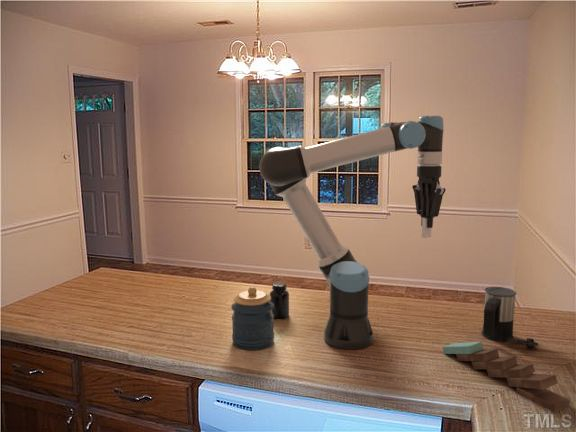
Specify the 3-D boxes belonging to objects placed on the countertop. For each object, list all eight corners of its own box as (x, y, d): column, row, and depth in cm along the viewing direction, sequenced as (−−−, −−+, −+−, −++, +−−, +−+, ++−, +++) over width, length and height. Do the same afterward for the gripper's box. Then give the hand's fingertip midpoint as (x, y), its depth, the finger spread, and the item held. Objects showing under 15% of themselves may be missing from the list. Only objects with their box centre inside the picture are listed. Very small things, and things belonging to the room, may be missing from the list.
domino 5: (523, 380, 122) (557, 383, 113) (508, 386, 120) (542, 389, 111) (521, 372, 122) (555, 375, 113) (506, 377, 120) (540, 380, 111)
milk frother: (482, 328, 157) (485, 284, 154) (536, 336, 150) (540, 290, 147) (479, 345, 144) (482, 298, 141) (538, 355, 137) (542, 305, 135)
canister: (227, 337, 151) (225, 283, 148) (265, 330, 156) (264, 278, 153) (239, 354, 139) (238, 296, 136) (280, 346, 144) (280, 290, 141)
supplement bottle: (266, 318, 166) (265, 285, 164) (274, 311, 172) (274, 279, 170) (284, 321, 164) (284, 287, 162) (292, 314, 170) (291, 281, 168)
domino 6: (529, 388, 120) (569, 407, 112) (516, 394, 118) (556, 414, 109) (529, 381, 120) (569, 399, 112) (516, 386, 117) (556, 406, 109)
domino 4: (501, 372, 128) (535, 372, 119) (488, 377, 125) (522, 377, 117) (498, 364, 128) (532, 363, 120) (486, 369, 125) (520, 369, 117)
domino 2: (470, 356, 137) (499, 356, 128) (457, 360, 134) (486, 361, 126) (468, 349, 137) (497, 348, 129) (455, 353, 135) (484, 353, 126)
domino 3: (485, 364, 132) (517, 363, 124) (473, 369, 129) (505, 369, 121) (483, 357, 132) (515, 356, 124) (471, 361, 129) (503, 361, 121)
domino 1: (442, 346, 139) (468, 346, 130) (455, 342, 141) (481, 342, 132) (444, 353, 138) (470, 353, 130) (457, 349, 141) (483, 349, 132)
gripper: (406, 164, 157) (404, 234, 161) (434, 166, 145) (431, 242, 150) (424, 163, 160) (421, 232, 164) (453, 165, 149) (449, 239, 153)
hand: (426, 237), depth 157 cm, fingers closed
